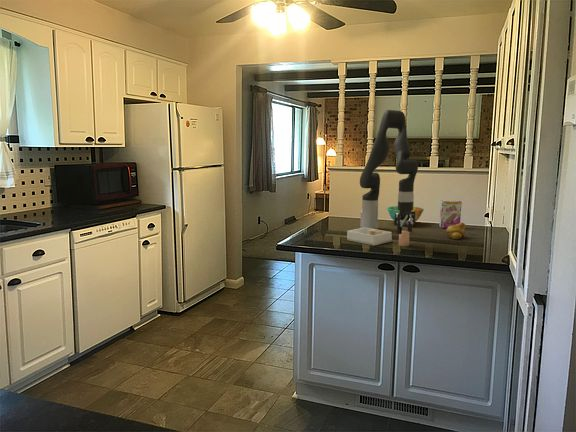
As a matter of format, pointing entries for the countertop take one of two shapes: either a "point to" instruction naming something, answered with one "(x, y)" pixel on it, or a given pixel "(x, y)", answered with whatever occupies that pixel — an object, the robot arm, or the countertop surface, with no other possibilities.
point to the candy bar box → (449, 213)
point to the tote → (368, 236)
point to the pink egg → (404, 238)
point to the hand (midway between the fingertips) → (404, 232)
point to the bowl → (395, 210)
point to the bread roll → (456, 231)
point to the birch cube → (375, 232)
